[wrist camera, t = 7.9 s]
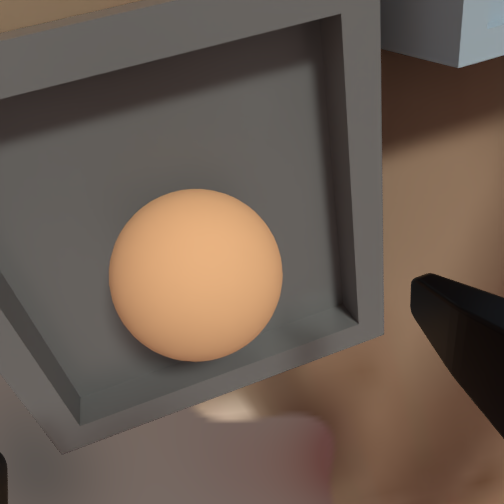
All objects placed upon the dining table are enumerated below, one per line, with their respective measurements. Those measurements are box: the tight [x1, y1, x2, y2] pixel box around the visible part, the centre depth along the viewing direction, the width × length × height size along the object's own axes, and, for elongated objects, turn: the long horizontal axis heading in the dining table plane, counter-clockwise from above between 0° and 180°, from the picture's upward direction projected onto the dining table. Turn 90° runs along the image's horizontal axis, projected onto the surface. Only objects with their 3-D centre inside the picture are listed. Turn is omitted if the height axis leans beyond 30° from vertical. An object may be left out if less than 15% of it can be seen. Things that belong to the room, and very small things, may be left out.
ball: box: [109, 189, 283, 362], centre depth 11 cm, size 4×4×4 cm
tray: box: [0, 0, 384, 454], centre depth 13 cm, size 12×12×2 cm
